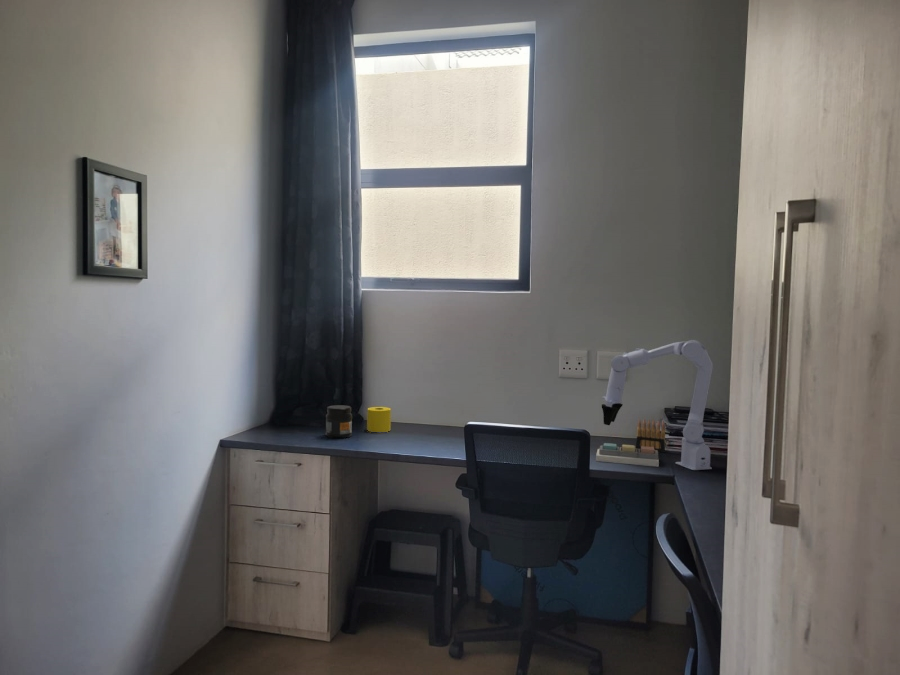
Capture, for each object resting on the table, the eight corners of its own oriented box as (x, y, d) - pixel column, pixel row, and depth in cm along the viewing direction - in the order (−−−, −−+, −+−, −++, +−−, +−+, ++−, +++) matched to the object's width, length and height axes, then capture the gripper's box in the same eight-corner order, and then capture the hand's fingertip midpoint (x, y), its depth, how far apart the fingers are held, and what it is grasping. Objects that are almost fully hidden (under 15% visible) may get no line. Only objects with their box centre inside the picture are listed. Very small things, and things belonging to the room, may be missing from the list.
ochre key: (634, 450, 222) (634, 445, 222) (634, 453, 218) (635, 448, 217) (622, 449, 223) (622, 444, 223) (622, 452, 219) (622, 447, 219)
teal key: (616, 448, 224) (616, 444, 224) (615, 451, 219) (616, 446, 219) (603, 447, 225) (604, 442, 225) (603, 450, 221) (603, 445, 221)
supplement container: (356, 436, 249) (357, 407, 248) (334, 440, 242) (334, 410, 241) (342, 432, 257) (343, 404, 256) (320, 435, 250) (321, 406, 249)
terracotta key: (653, 452, 220) (653, 447, 220) (654, 454, 216) (654, 449, 216) (640, 451, 221) (641, 446, 221) (641, 453, 217) (641, 448, 217)
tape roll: (392, 432, 258) (392, 410, 258) (368, 433, 256) (368, 411, 256) (388, 428, 268) (389, 406, 268) (366, 428, 266) (366, 407, 265)
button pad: (657, 459, 223) (657, 449, 223) (658, 466, 212) (659, 455, 212) (597, 454, 229) (597, 444, 229) (595, 461, 218) (596, 450, 218)
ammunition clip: (635, 449, 239) (636, 418, 238) (636, 448, 240) (637, 418, 240) (664, 452, 234) (665, 421, 234) (665, 451, 236) (666, 420, 235)
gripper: (608, 382, 233) (602, 417, 235) (600, 387, 220) (593, 423, 222) (627, 387, 230) (620, 421, 232) (620, 391, 217) (613, 428, 219)
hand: (608, 422), depth 227 cm, fingers open, 7 cm apart
